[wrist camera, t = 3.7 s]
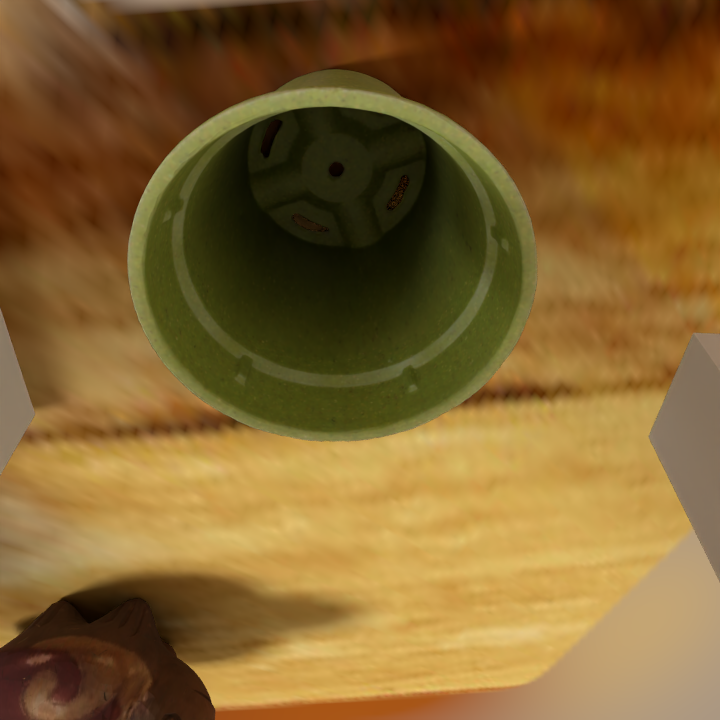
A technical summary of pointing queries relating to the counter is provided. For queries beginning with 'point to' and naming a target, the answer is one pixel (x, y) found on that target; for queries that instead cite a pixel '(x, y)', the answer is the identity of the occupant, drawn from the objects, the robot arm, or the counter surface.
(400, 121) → the plant pot
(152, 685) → the decorative turtle
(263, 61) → the counter surface
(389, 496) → the counter surface
